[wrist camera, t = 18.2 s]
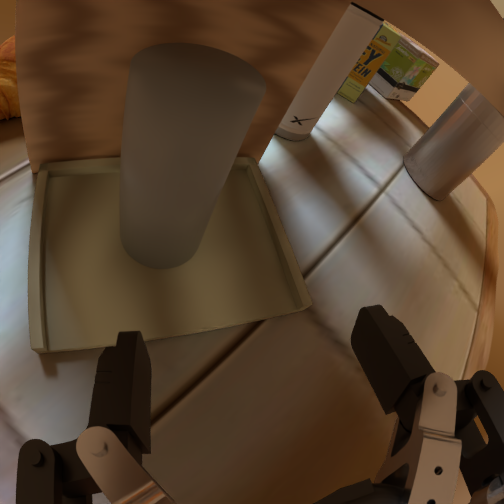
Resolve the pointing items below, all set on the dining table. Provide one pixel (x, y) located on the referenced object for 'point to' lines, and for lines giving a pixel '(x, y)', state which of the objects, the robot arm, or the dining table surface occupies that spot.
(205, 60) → the grey rounded cylinder
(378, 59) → the protein box
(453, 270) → the dining table surface
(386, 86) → the tea box
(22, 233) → the dining table surface
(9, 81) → the croissant
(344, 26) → the travel mug
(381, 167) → the dining table surface
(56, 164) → the wooden shelf stand
